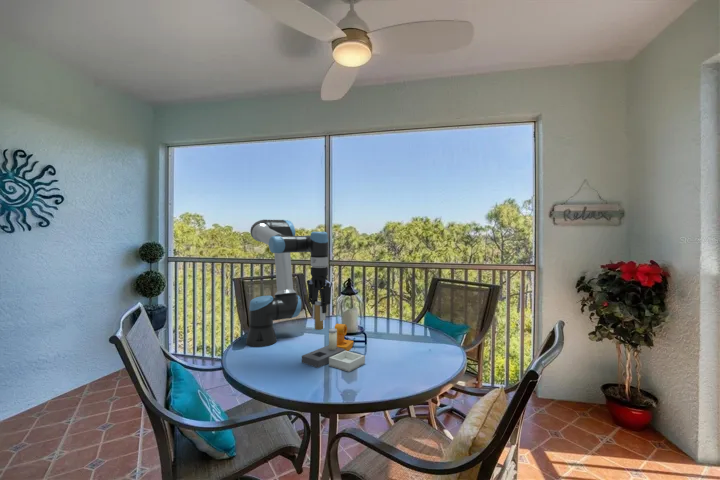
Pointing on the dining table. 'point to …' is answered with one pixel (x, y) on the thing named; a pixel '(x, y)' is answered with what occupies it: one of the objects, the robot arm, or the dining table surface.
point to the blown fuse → (318, 316)
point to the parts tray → (347, 361)
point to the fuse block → (323, 352)
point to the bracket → (340, 337)
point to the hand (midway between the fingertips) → (319, 319)
